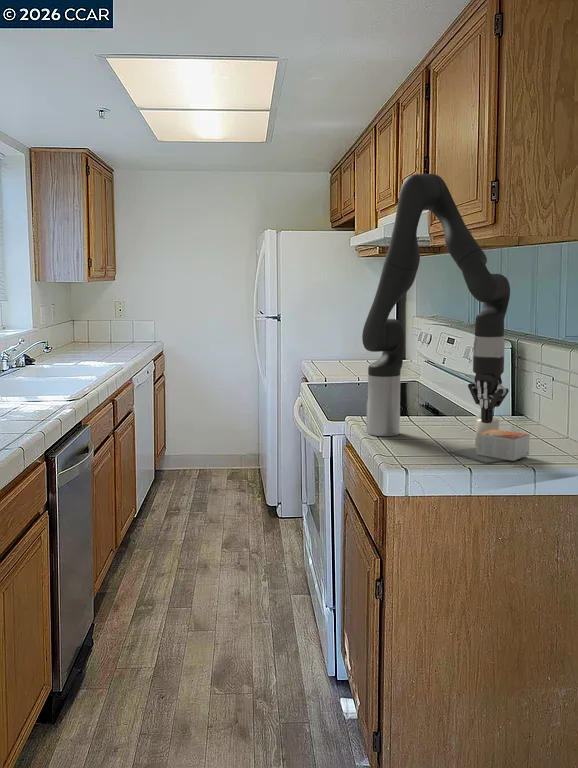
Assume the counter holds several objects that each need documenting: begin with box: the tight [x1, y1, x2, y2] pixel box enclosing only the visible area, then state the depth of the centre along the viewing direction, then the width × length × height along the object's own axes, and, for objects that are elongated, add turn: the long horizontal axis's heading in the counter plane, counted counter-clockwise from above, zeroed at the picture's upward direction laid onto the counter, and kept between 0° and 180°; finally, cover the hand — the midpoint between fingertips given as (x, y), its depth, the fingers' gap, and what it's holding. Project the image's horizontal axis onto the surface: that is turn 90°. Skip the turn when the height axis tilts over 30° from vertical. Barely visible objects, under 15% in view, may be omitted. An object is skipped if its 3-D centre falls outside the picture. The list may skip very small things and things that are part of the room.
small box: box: [476, 429, 530, 462], centre depth 195 cm, size 8×6×10 cm
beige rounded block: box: [474, 417, 500, 446], centre depth 210 cm, size 6×6×7 cm
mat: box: [449, 447, 525, 465], centre depth 197 cm, size 14×12×1 cm
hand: (486, 422), depth 196 cm, fingers closed
